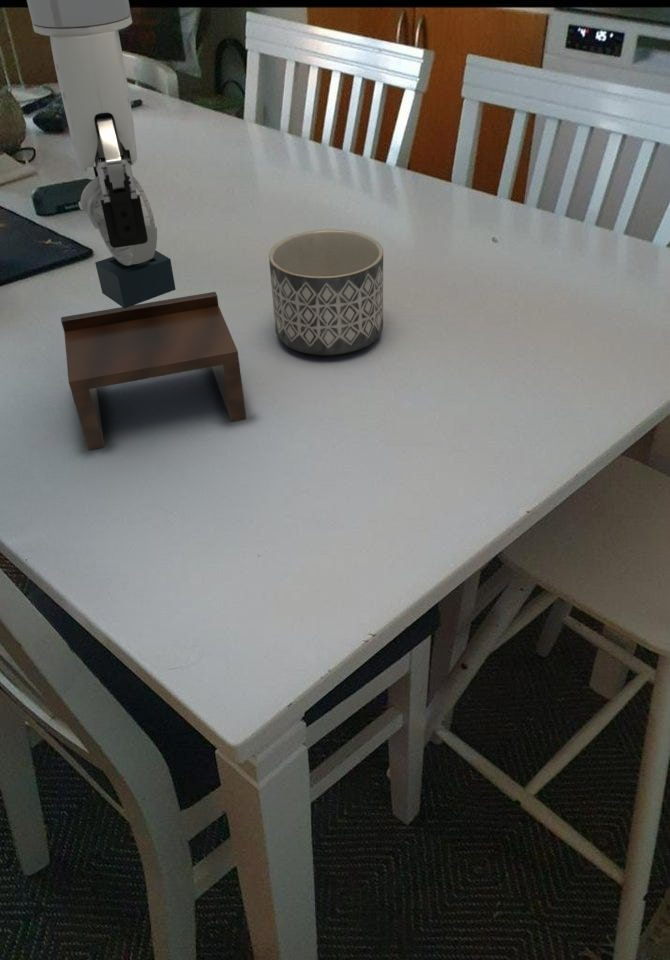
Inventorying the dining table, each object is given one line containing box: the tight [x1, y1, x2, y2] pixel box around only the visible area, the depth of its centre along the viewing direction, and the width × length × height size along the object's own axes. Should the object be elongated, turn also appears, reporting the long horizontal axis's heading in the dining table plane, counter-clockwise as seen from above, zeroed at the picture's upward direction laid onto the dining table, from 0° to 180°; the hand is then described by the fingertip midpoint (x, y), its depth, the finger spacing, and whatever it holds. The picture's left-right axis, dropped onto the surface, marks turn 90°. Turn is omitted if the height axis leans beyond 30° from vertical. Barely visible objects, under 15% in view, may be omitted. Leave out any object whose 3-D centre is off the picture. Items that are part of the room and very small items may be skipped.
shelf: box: [60, 291, 247, 451], centre depth 83 cm, size 16×11×9 cm
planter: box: [268, 229, 384, 356], centre depth 93 cm, size 13×13×10 cm
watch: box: [78, 171, 177, 309], centre depth 74 cm, size 6×8×11 cm
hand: (124, 224), depth 73 cm, fingers closed on watch, 8 cm apart
